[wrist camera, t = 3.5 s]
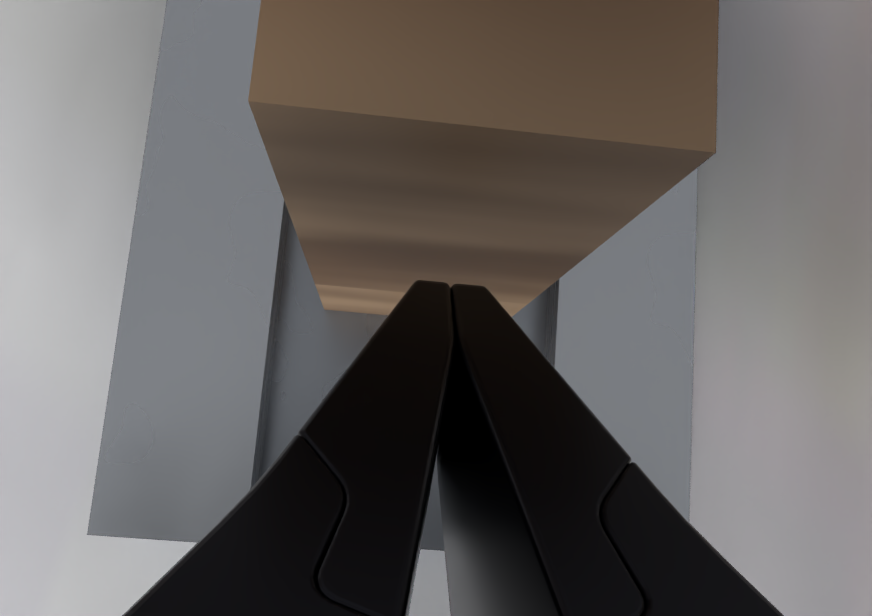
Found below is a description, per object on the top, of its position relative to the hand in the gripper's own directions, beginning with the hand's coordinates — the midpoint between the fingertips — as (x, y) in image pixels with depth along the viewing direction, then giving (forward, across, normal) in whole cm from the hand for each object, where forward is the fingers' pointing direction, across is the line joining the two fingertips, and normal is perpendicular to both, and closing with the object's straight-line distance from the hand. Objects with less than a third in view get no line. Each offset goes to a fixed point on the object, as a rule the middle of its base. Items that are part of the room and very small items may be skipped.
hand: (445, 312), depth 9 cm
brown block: (+9, 0, +2) cm, 9 cm away
